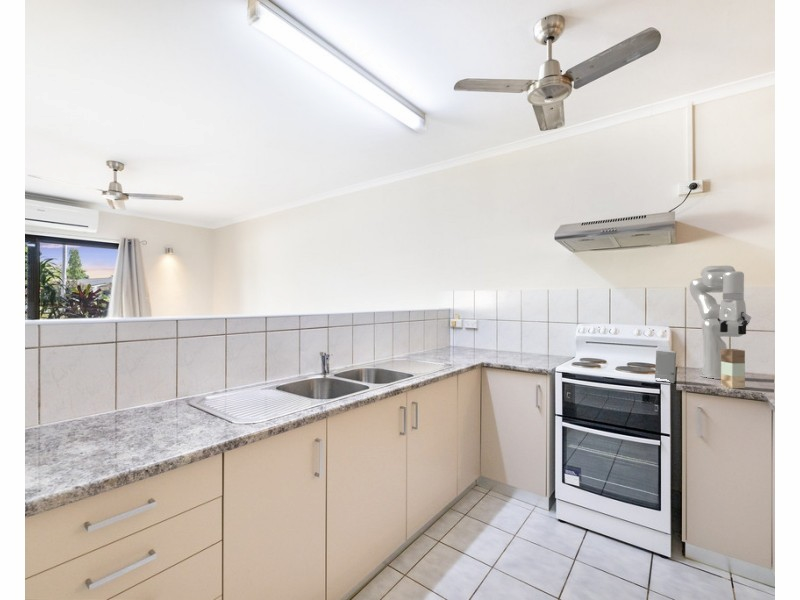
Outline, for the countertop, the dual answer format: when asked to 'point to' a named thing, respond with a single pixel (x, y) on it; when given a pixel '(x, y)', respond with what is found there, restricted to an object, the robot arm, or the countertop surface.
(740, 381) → the oak block
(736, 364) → the sage block
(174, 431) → the countertop surface
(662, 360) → the skincare box
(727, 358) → the walnut block
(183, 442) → the countertop surface
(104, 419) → the countertop surface
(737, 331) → the robot arm
